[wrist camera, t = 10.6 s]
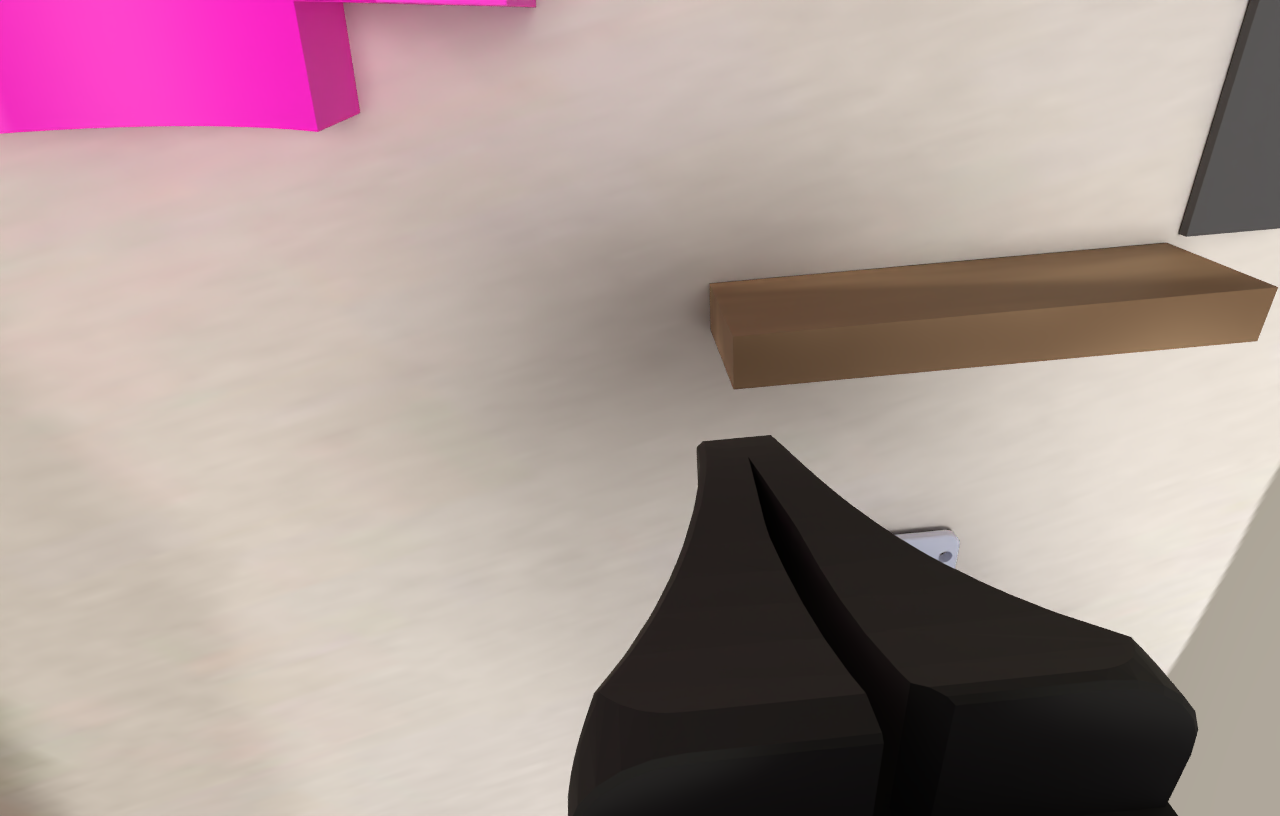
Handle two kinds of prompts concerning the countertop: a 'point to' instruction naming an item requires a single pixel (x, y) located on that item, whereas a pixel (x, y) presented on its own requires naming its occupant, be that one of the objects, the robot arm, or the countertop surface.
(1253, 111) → the pit pad
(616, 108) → the countertop surface
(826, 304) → the channel
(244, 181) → the countertop surface
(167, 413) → the countertop surface
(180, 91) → the toy block
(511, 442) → the countertop surface
